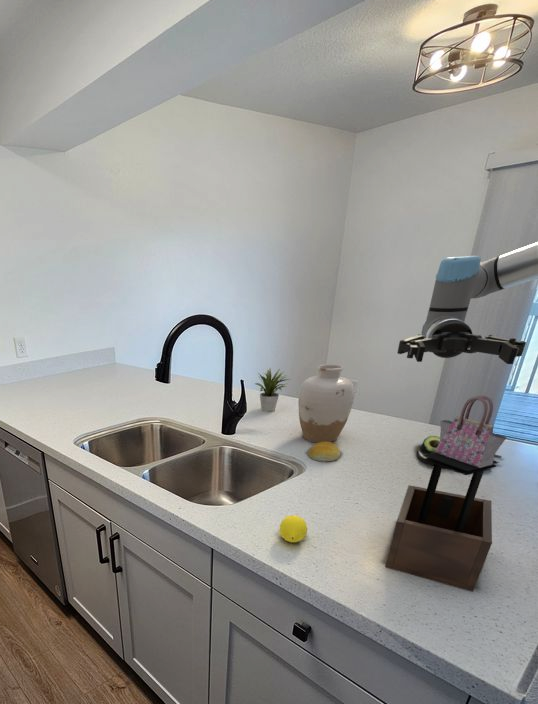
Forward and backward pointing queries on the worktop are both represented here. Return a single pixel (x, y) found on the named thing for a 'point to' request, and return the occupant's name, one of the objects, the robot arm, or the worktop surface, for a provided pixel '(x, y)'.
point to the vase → (325, 404)
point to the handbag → (462, 458)
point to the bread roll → (324, 451)
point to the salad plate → (432, 449)
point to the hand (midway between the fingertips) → (465, 355)
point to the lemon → (293, 528)
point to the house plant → (270, 391)
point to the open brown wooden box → (441, 540)
